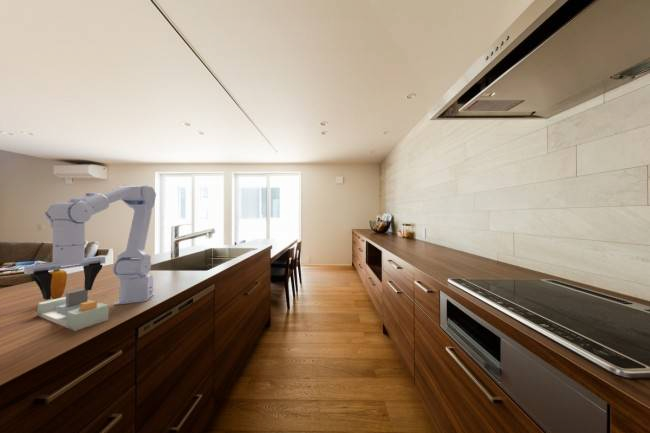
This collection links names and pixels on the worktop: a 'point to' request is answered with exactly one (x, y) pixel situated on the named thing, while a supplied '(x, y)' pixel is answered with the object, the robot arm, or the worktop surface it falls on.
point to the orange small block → (88, 305)
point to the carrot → (58, 283)
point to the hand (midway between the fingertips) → (68, 294)
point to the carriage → (73, 301)
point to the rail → (72, 314)
